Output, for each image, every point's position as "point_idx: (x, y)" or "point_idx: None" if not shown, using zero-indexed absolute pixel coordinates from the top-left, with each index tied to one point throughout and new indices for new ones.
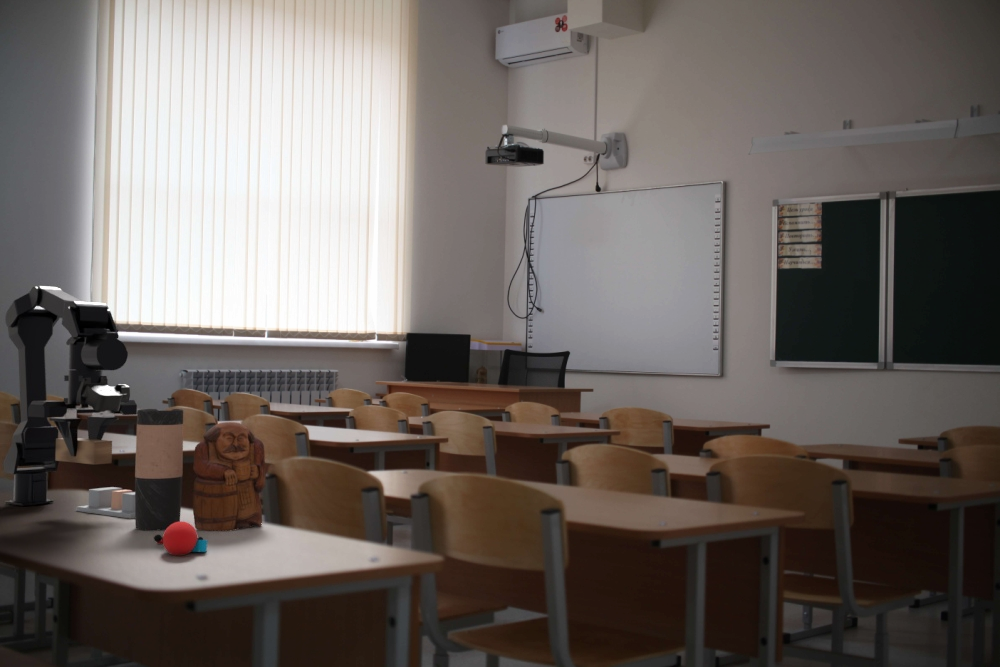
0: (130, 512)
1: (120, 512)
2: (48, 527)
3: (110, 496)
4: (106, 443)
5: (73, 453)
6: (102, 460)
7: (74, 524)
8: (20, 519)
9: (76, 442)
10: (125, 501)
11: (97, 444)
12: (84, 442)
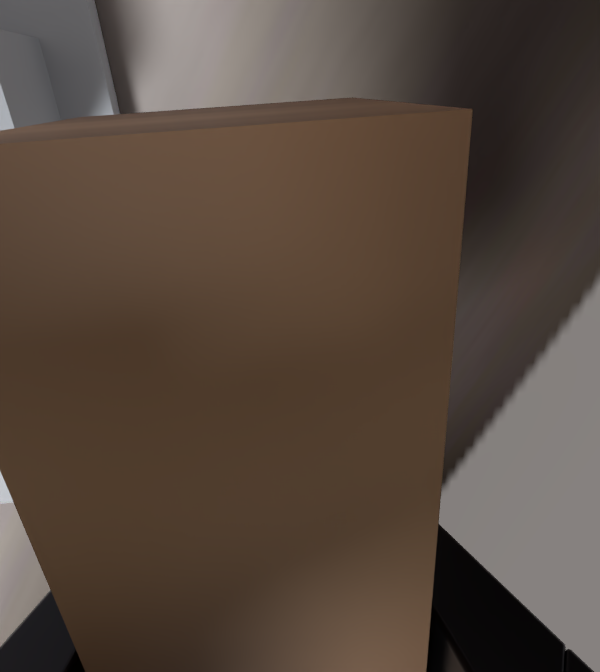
0: (50, 44)
1: (103, 99)
2: (581, 33)
3: None
4: (91, 132)
5: None
6: (223, 108)
7: (438, 26)
8: (479, 376)
9: (447, 601)
10: (37, 123)
11: (364, 110)
12: (429, 475)
